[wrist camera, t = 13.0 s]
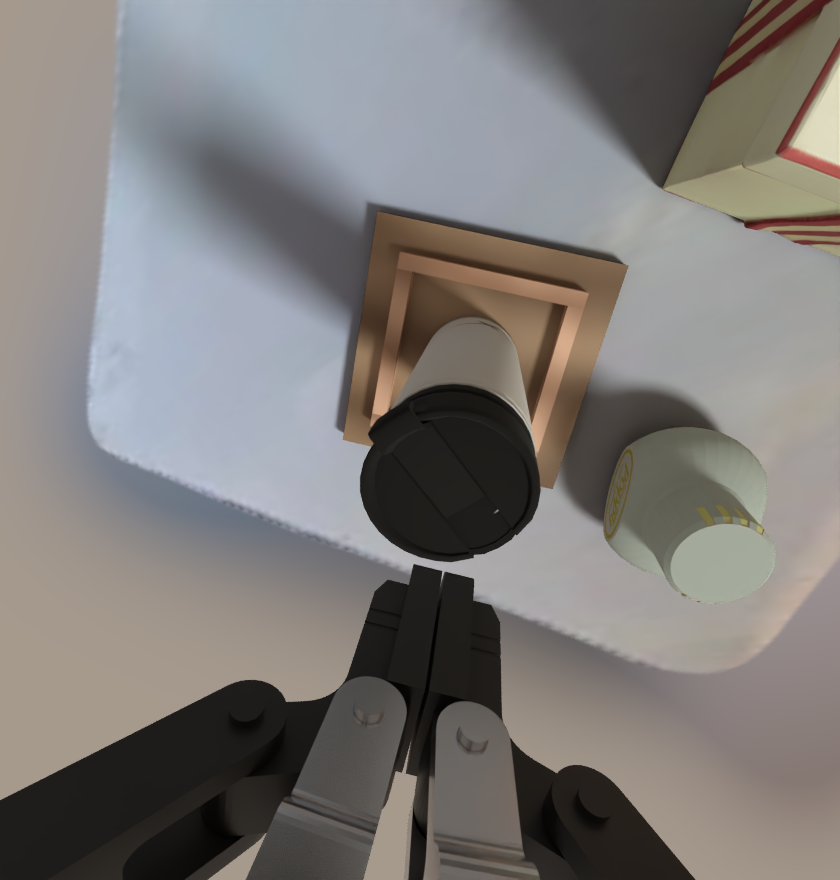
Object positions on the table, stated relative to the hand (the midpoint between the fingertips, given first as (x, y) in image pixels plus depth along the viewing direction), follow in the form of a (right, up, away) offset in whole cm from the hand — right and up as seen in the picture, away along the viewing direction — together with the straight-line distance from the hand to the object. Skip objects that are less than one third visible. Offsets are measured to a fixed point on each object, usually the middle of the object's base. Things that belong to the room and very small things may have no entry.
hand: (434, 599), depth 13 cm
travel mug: (+3, +9, +23) cm, 25 cm away
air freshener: (+18, +1, +26) cm, 31 cm away
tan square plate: (+3, +10, +24) cm, 26 cm away
